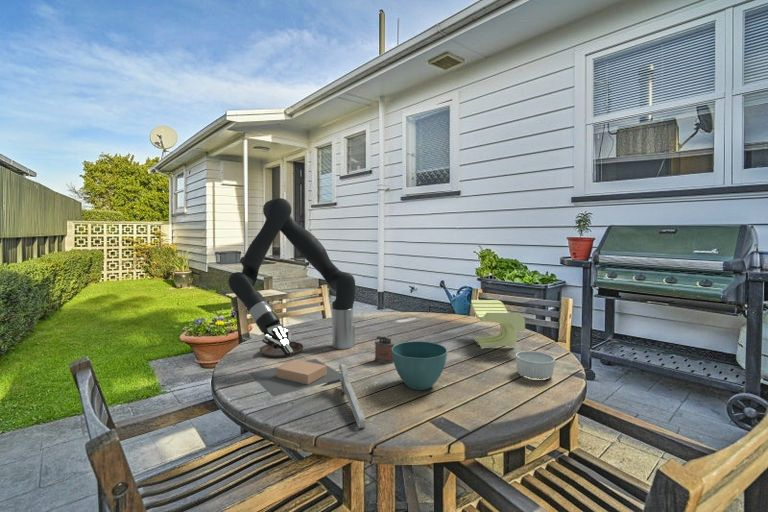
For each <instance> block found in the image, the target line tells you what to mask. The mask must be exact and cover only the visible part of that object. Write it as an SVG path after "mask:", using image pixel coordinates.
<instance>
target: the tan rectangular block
mask: <svg viewBox="0 0 768 512" xmlns="http://www.w3.org/2000/svg"><path fill="white" fill-rule="evenodd" d="M306 361H307V360H301V359H294V360H291V361H289V362H286V363H283V364H282V365H279V366H276V367H277V368H276V376H277V377H278V378H283V379H287V380H291V381H295V382H299V383H303V384H310V383H312V382H314V381H316V380H318V379H319V378H321V377H323V376H325V375H326V374H327V366H328V365H327V364H325V365H321V364H316V363H311V362H306ZM326 365H327V366H326Z"/></svg>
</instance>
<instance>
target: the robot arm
mask: <svg viewBox="0 0 768 512" xmlns="http://www.w3.org/2000/svg"><path fill="white" fill-rule="evenodd" d="M262 213H263V216H264V217H265V221H264V223H263V226H262V227H261V229H260V230H259V232H258V233H257V235H256V236H255V237H254V239H253V240H252V241H251V243H250V244H249V246H248V248H247V250H245V251H246V252H245V254H244V256H243V258H242V260H241V266H242V271H241V272H240V271H235V272H233V273H232V274H230V275H229V277H228V282H227V283H228V287H229V288H230V290H231V291H232V293H233V294H234V295H235V296H236V297H237V298H238V299H239V300H240V301H241V302H242V304H243V305H244V306H245V309H246V310H247V311H248V313H249V314H250V315H249V316H250V317H251V318H252V320H253V322H254V323H255V325H256V326H257V327H258V329H259V331H260V332H261V333H263V335H264V337H263V339H262V340H261V342H262V343H264V344H265V345H267V344H268V345H269V346H271V347H273V348H275V349H277V348H280V349H279V350H281V351H282V352H283V354H285V355H286V356H287V357H286V358H289V357H292V356H291V355H292V354H293V350H292V348H291V347H290V346H289V342H290V341H291V342H292V329H291V328H288V329H286V328H285V327H284V326H283V325H282V324H281V320H280V318H279V317H278V315H277V314H276V313H275V310H274V309H273V308H272V307H271V305H270V304H269V303H268V302H267V301H266V299H265V298H264V296H263V295H262V294H261V293H260V291H258V290H257V289H256V288H254V287H255V285H256V283H257V279H258V275H259V270H260V268H261V266H262V264H263V261H264V260H265V258H266V256H267V254H268V252H269V249H270V247H271V246H272V244H273V242H274V241H275V239H276V237H277V235H278V233H280V232H281V233H282V234H283V235H284V236H285V238H286V239H287V240H288V241H289V242H290V243H291V245H293V247H294V248H295V249H296V250H297V251H298V252H299V254H300V255H302V257H303V258H304V259H305V260H306V261H307V263H309V265H311V266H312V267H313V268H314V269H315V270H316V271H317V272H318V273H319V274H320V275H321V276H322V277H323V279H324V281H325V282H326V283H327V284H328V286H329V287H330V288H331V289H332V290H333V291H334V292H335V300H333V301H332V304H331V311H332V312H331V315H332V316H331V317H332V319H331V322H332V324H331V326H332V327H331V328H332V329H331V330H332V332H331V333H332V335H331V338H332V339H331V340H332V348H334V349H337V350H346V349H351V348H353V347H354V346H356V324H354V304H355V300H356V280H355V277H354V275H353V274H351V273H349V272H345V271H342V270H341V269H339V268H338V267H337V266H336V265H335V264H334V263H333V261H332V260H331V259H330V257H329V255H328V252H327V251H326V248H325V247H324V245H323V244H322V242H320V241H319V239H318V238H317V237H316V236H315V235H313V233H311V232H310V231H308V230H307V229H306V228H305V227H303V226H301V225H300V224H299V223H297V221H295V220H294V218H293V217H292V216H291V214H292V205H291V204H290V202H289V201H288V200H287V199H285V198H281V197H280V198H279V197H278V198H273V199H270V200H268V201H266V202H265V203H264V204H263V208H262ZM273 343H274V344H273Z"/></svg>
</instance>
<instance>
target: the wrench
mask: <svg viewBox="0 0 768 512" xmlns="http://www.w3.org/2000/svg"><path fill="white" fill-rule="evenodd" d="M338 369H339V370H340V373H341V379H340V381H341V382H340V386H341V393H343V394H345V395H346V398H347V400H348V403H349V405H350V408H351V412H352V414H353V416H354V419H355V422H356V425H357V427H358V426H359V427H358V429H364V427H365V428H366V425H367V423H366V421H367V420H366V417H365V414H364V411H363V410H362V407H361V404H360V402H359V400H358V397H357V395H356V394H355V390H354V388H353V386H352V384H351V381H350V380H351V379H350V378H349V372H348V368H347V365H346V363H342V364H339V365H338Z"/></svg>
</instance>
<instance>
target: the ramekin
mask: <svg viewBox="0 0 768 512" xmlns="http://www.w3.org/2000/svg"><path fill="white" fill-rule="evenodd" d="M514 358H515V361H516V363H515V364H516V371H517V373H518V374H521V375H523V376H527V377H530V378H537V379H538V378H539V379H543V378H548V377H551V376H552V377H553V375H554V369H555V364H556V359H555V357H554V356H553V355H551V354H548V353H546V352H542V351H536V350H522V351H518V352H516V353H515V357H514ZM552 377H551V378H552Z"/></svg>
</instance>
